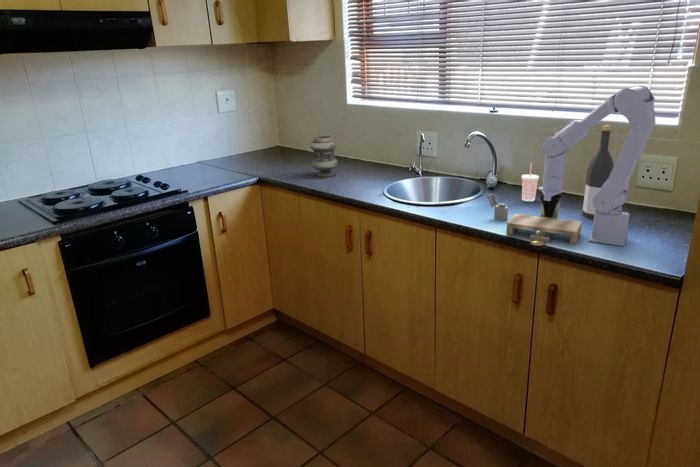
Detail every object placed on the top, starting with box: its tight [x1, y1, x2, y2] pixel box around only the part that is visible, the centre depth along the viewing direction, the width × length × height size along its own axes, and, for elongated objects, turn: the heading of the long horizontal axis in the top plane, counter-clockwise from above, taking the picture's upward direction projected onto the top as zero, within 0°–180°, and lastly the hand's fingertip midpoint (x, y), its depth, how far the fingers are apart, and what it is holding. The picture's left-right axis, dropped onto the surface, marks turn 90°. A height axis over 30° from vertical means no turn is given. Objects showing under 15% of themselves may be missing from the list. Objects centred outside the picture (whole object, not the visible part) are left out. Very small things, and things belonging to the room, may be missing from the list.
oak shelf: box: [505, 213, 582, 246], centre depth 162 cm, size 20×10×4 cm, turn 60°
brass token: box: [530, 239, 546, 247], centre depth 157 cm, size 4×4×1 cm
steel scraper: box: [529, 201, 561, 243], centre depth 163 cm, size 6×15×8 cm, turn 150°
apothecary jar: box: [310, 134, 339, 179], centre depth 241 cm, size 12×12×18 cm
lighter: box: [486, 193, 509, 221], centre depth 178 cm, size 7×2×8 cm, turn 47°
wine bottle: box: [581, 124, 615, 220], centre depth 172 cm, size 8×8×30 cm
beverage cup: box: [521, 162, 540, 203], centre depth 195 cm, size 6×6×14 cm
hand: (549, 216), depth 169 cm, fingers closed on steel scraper
